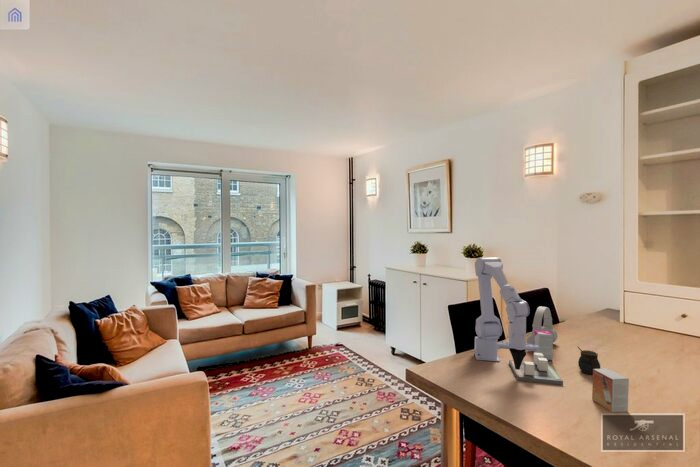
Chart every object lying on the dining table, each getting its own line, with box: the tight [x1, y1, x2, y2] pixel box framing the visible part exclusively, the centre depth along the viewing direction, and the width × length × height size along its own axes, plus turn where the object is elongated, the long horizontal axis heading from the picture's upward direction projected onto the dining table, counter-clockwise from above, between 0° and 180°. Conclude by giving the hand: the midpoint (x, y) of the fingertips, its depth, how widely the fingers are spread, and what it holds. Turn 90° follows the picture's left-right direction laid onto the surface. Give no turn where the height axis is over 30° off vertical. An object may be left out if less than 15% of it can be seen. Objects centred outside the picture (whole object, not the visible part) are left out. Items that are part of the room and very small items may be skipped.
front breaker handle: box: [523, 360, 534, 375], centre depth 131 cm, size 3×3×4 cm
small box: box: [591, 368, 630, 413], centre depth 111 cm, size 8×6×10 cm
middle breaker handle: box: [537, 358, 549, 371], centre depth 135 cm, size 3×3×4 cm
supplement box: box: [533, 330, 554, 362], centre depth 151 cm, size 6×6×12 cm
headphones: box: [526, 305, 559, 345], centre depth 165 cm, size 20×8×19 cm, turn 136°
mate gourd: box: [577, 346, 601, 376], centre depth 137 cm, size 7×8×10 cm
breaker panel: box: [508, 359, 564, 386], centre depth 136 cm, size 15×17×2 cm
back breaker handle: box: [533, 352, 544, 365], centre depth 141 cm, size 3×3×4 cm
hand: (517, 368), depth 132 cm, fingers closed
